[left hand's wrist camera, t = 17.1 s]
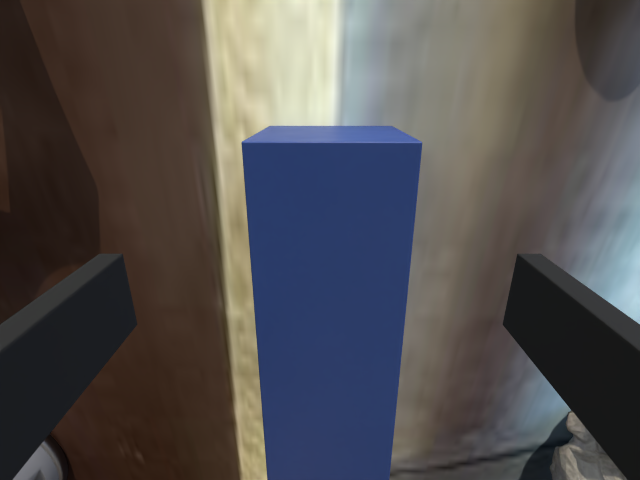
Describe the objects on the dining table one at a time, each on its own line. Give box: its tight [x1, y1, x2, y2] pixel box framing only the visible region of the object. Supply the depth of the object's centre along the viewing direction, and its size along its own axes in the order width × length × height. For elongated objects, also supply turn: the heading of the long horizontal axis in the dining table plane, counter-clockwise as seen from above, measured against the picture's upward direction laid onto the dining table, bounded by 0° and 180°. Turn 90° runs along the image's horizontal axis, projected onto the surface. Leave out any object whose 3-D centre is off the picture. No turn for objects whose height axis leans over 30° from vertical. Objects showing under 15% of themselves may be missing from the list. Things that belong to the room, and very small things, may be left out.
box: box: [242, 126, 422, 480], centre depth 27 cm, size 29×9×9 cm, turn 0°
